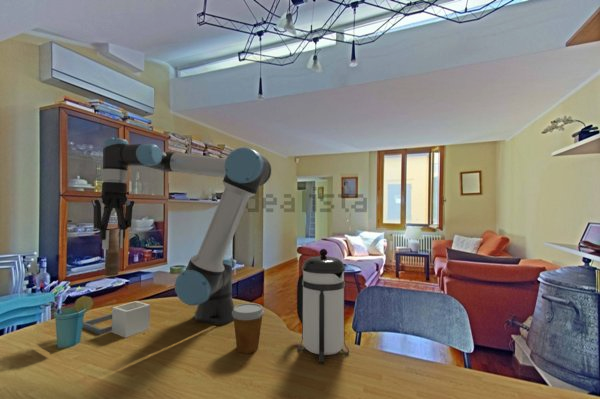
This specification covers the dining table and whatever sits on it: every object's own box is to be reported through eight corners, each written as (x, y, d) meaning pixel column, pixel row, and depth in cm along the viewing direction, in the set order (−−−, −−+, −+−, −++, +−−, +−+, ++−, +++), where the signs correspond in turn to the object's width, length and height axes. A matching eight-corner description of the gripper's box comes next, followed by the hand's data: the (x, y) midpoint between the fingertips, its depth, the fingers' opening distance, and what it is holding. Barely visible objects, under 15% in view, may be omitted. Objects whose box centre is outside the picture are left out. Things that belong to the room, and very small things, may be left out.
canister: (149, 331, 98) (150, 304, 98) (125, 340, 91) (126, 311, 91) (135, 326, 102) (136, 300, 102) (111, 335, 95) (112, 307, 95)
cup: (47, 362, 78) (49, 305, 78) (28, 357, 80) (30, 302, 81) (98, 340, 91) (99, 292, 92) (80, 336, 94) (82, 289, 94)
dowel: (120, 274, 102) (122, 228, 103) (108, 276, 99) (110, 229, 99) (114, 272, 104) (115, 228, 105) (102, 274, 101) (103, 228, 101)
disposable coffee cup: (270, 348, 87) (270, 307, 87) (243, 359, 80) (244, 315, 80) (250, 338, 93) (251, 300, 94) (224, 348, 86) (225, 307, 87)
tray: (137, 325, 103) (137, 318, 103) (100, 338, 93) (100, 330, 93) (118, 318, 109) (118, 312, 109) (81, 330, 99) (82, 322, 99)
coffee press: (350, 341, 91) (350, 246, 93) (347, 368, 76) (347, 253, 77) (297, 335, 95) (297, 244, 97) (283, 360, 80) (284, 250, 81)
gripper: (132, 184, 112) (130, 245, 111) (82, 180, 97) (79, 250, 96) (144, 183, 108) (142, 246, 107) (93, 179, 94) (90, 252, 93)
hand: (112, 248), depth 102 cm, fingers closed on dowel, 4 cm apart
